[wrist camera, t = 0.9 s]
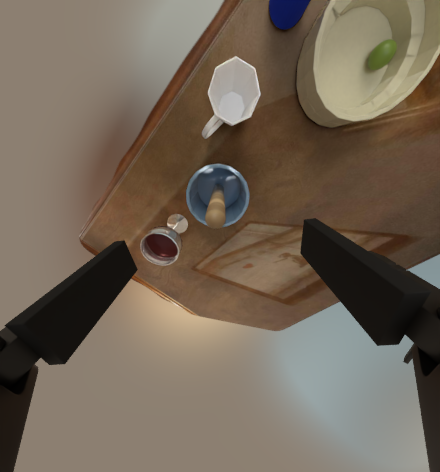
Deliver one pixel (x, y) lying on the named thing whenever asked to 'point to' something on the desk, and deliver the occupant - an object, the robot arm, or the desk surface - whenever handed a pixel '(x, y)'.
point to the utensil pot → (203, 188)
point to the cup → (232, 94)
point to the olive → (382, 54)
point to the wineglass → (164, 241)
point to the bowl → (365, 58)
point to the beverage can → (287, 12)
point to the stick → (216, 208)
